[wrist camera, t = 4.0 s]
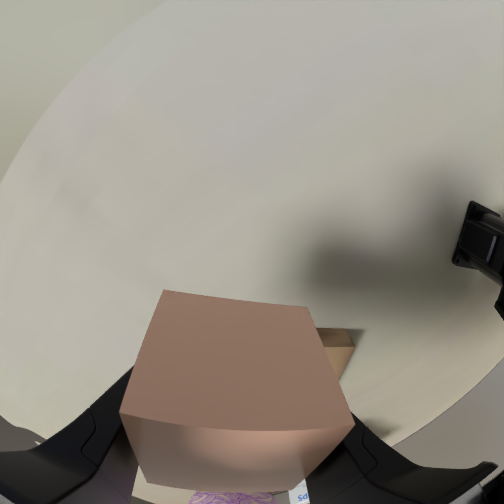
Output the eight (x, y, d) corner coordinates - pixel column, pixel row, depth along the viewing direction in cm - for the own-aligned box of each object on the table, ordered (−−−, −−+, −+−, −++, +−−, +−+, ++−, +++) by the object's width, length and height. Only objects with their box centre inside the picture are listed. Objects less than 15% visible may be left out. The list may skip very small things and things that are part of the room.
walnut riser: (343, 325, 23) (355, 346, 20) (311, 394, 27) (318, 415, 24) (232, 319, 22) (233, 343, 19) (221, 393, 25) (221, 415, 23)
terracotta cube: (306, 307, 9) (355, 424, 5) (274, 394, 11) (291, 490, 7) (163, 289, 9) (118, 412, 4) (164, 384, 11) (147, 482, 6)
